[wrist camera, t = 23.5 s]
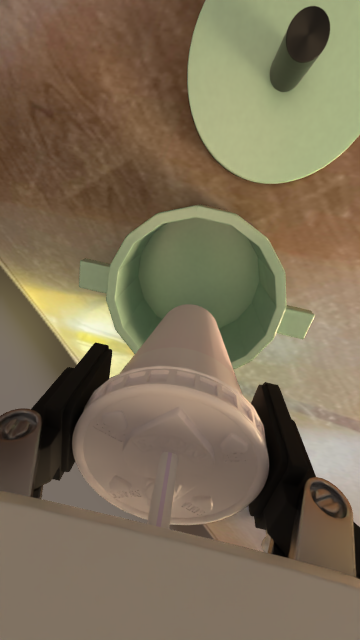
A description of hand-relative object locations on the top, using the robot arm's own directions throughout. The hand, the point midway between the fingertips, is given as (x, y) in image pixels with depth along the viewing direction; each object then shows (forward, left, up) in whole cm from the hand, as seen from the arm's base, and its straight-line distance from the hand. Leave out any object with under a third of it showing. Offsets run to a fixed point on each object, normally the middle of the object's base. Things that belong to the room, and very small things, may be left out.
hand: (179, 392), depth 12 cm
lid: (+18, -3, -19) cm, 26 cm away
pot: (0, 0, -20) cm, 20 cm away
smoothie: (0, 0, -6) cm, 6 cm away
